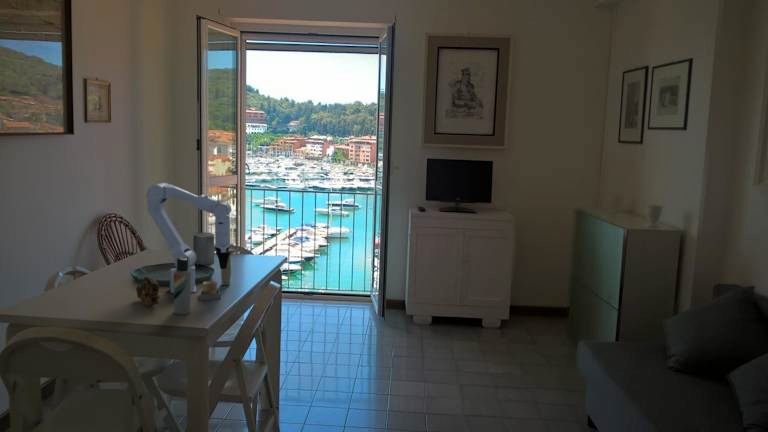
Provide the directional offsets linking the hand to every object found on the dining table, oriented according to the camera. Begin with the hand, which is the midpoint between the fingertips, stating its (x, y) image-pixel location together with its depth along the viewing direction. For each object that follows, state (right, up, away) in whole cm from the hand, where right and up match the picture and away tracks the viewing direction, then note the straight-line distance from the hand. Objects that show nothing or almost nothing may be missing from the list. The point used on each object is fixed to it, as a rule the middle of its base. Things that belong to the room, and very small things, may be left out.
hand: (222, 266), depth 243 cm
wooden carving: (-22, -13, -20) cm, 32 cm away
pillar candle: (-22, -2, +48) cm, 53 cm away
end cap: (-3, -11, -7) cm, 14 cm away
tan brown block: (-3, -12, -7) cm, 14 cm away
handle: (-2, -9, +13) cm, 16 cm away
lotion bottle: (-7, -14, -26) cm, 31 cm away
